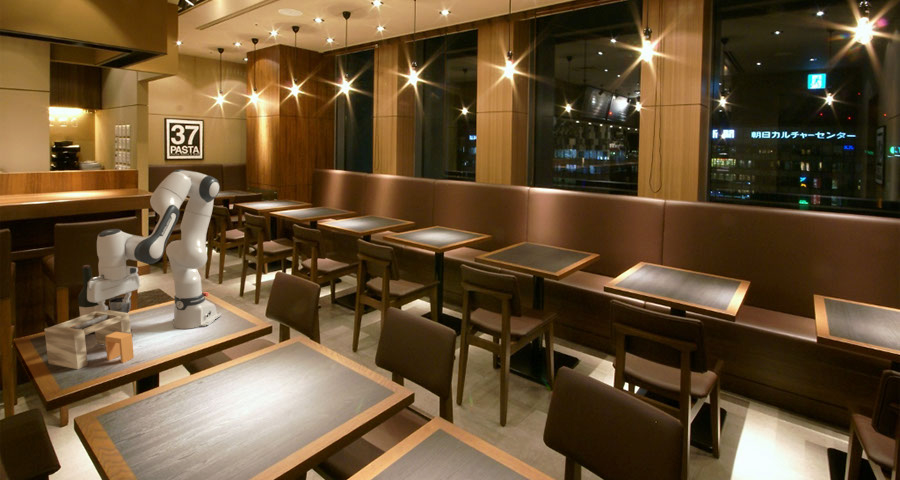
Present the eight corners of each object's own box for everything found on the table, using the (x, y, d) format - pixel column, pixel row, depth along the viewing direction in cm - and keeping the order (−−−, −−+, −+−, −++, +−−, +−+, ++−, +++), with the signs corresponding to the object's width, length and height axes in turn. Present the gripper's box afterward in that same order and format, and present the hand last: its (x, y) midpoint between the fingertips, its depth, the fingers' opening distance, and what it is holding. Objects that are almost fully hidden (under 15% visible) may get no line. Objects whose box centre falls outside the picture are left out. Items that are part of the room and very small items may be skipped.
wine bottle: (99, 326, 230) (93, 262, 224) (107, 330, 226) (101, 265, 220) (78, 331, 224) (71, 265, 218) (85, 336, 219) (78, 269, 213)
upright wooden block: (118, 355, 203) (116, 331, 201) (133, 357, 201) (131, 334, 199) (107, 360, 198) (105, 336, 196) (123, 363, 197) (120, 338, 194)
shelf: (104, 340, 216) (101, 309, 213) (131, 344, 213) (129, 313, 210) (48, 363, 193) (44, 329, 190) (77, 369, 190) (74, 334, 187)
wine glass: (137, 329, 229) (134, 297, 226) (124, 335, 221) (121, 303, 218) (121, 327, 230) (118, 296, 227) (107, 334, 222) (104, 301, 219)
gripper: (94, 279, 182) (97, 316, 185) (141, 267, 201) (143, 300, 204) (80, 277, 183) (83, 314, 186) (128, 265, 203) (130, 298, 206)
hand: (115, 306), depth 195 cm, fingers open, 8 cm apart
